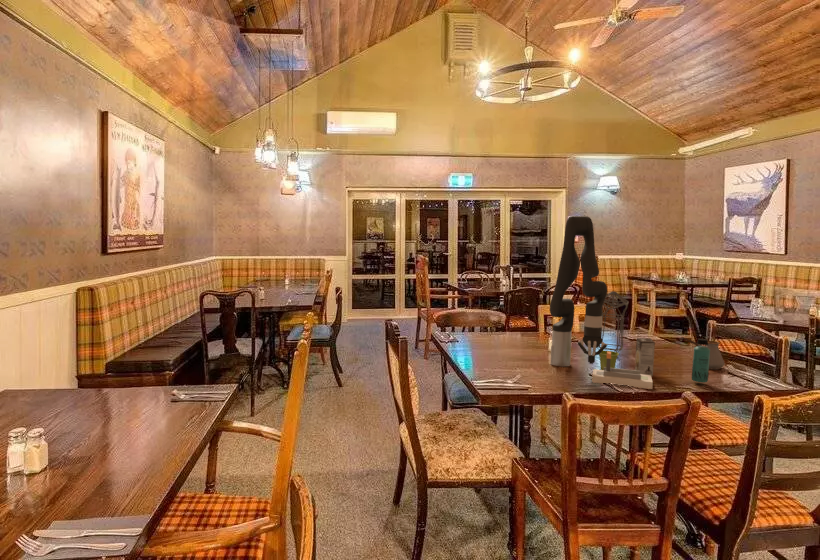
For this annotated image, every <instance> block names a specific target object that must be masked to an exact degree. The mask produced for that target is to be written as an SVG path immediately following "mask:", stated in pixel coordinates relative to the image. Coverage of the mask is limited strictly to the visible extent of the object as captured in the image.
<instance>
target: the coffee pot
mask: <svg viewBox="0 0 820 560" xmlns="http://www.w3.org/2000/svg"><path fill="white" fill-rule="evenodd" d="M679 340H680V342H682V341H683V340H684V341H686V342H688V343H690V344H693V345H695V346H704V347H708V348H709V349H710V357H709V370H720V369H721V368H723V367H724V366H725V365H726V363H725V361H724V358H723V356H722V354H721V350H720V348H719V345H721V342H719V341H714V340H708V345H701V344H697V342H695V341H693V340H691V339H688V338H687V337H683V336H681V337H680V338H679Z"/></svg>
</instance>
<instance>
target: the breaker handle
mask: <svg viewBox="0 0 820 560" xmlns="http://www.w3.org/2000/svg"><path fill="white" fill-rule="evenodd" d="M606 351H607V364H606V369H605V371H610V372H612V369H610V362H611V352H608V351H609V350H606Z"/></svg>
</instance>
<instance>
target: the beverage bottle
mask: <svg viewBox="0 0 820 560" xmlns="http://www.w3.org/2000/svg"><path fill="white" fill-rule="evenodd" d="M696 341H697V342H696V343H697V344H700V345H702V346H698V345H695V346H694V348H693V358H692V368H691V380H692V381H693V382H698V383H708V381H709V371H710V369H709V357H710V349H709V348H708V347H706V345H708V341H709V340H708V339H705V338H698V339H697V340H696ZM704 346H705V347H704Z"/></svg>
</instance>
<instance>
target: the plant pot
mask: <svg viewBox="0 0 820 560" xmlns="http://www.w3.org/2000/svg"><path fill="white" fill-rule="evenodd" d="M607 351H608V352H611V362H610V368H616V363H617V359H618V358H619V357H618V356H619V354H620V353H619V352H618V351H617V352H618V353H617V352H616V351H614V350H603V351H602V352H601V353H600V354H599V355H598V356H599V365H600V370H604V367H606V364H607Z"/></svg>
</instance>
